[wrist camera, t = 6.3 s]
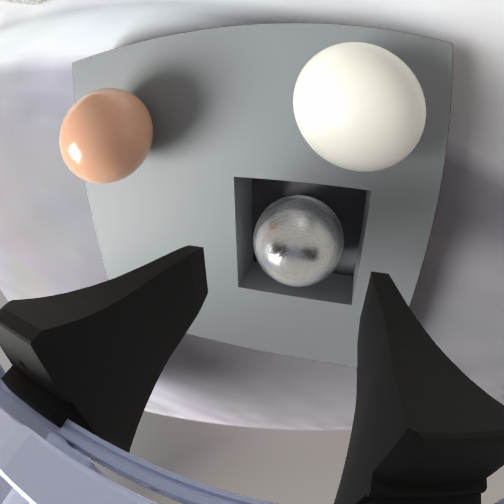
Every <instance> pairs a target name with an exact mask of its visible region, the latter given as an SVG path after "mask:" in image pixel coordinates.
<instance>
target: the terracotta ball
mask: <svg viewBox="0 0 504 504" xmlns="http://www.w3.org/2000/svg"><path fill="white" fill-rule="evenodd" d="M152 141H153V122H152V118H151V116H150V113H149V111H148V109H147V107H146V106H145V104H144V103H143V102H142V101H141V100H140V99H139V98H138V97H136V96H135V95H134V94H132V93H130V92H128V91H125V90H122V89H117V88H104V89H99V90H95V91H92V92H90V93H88V94H86V95H85V96H83V97H82V98H80V99H79V100H78V101H77V102H76V103H75V104H74V105H73V106H72V107H71V108H70V110H69V111H68V113H67V114H66V116H65V118H64V120H63V123H62V125H61V129H60V137H59V144H60V151H61V154H62V157H63V159H64V162H65V163H66V165H67V166H68V168H69V169H70V170H71V171H72V172H73V173H74V174H75V175H77V176H78V177H79V178H81V179H83V180H85V181H88V182H91V183H96V184H109V183H113V182H117V181H120V180H122V179H124V178H126V177H128V176H129V175H131V174H132V173H133V172H135V171H136V170H137V169H138V168H139V167H140V166H141V164H142V163H143V162H144V160H145V159H146V157H147V155H148V153H149V151H150V148H151V145H152Z"/></svg>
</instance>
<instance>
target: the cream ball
mask: <svg viewBox="0 0 504 504" xmlns="http://www.w3.org/2000/svg"><path fill="white" fill-rule="evenodd" d="M293 110H294V115H295V119H296V122H297V125H298V127H299V130H300V132H301V134H302V135H303V137H304V139H305V140H306V142H307V143H308V144H309V145H310V147H311V148H312V149H313V150H314V151H315V152H316V153H317V154H319V155H320V156H321V157H322V158H324V159H325V160H327V161H329V162H330V163H332V164H334V165H336V166H338V167H341V168H344V169H347V170H352V171H359V172H371V171H378V170H382V169H385V168H389V167H391V166H393V165H395V164H397V163H398V162H400V161H401V160H403V159H404V158H405V157H406V156H408V155H409V154H410V153H411V151H412V150H413V149H414V148H415V146H416V145H417V143H418V142H419V140H420V138H421V135H422V133H423V130H424V126H425V120H426V104H425V98H424V94H423V91H422V88H421V86H420V83H419V82H418V80H417V78H416V76H415V75H414V73H413V72H412V71H411V69H410V68H409V67H408V66H407V65H406V64H405V63H404V62H403V61H402V60H401V59H400V58H398V57H397V56H396V55H394V54H393V53H391V52H390V51H388V50H386V49H384V48H381V47H379V46H376V45H373V44H369V43H363V42H345V43H340V44H336V45H333V46H330V47H328V48H326V49H324V50H322V51H320V52H319V53H317V54H316V55H315V56H313V57H312V58H311V59H310V60H309V61H308V62H307V64H306V65H305V66H304V68H303V69H302V71H301V72H300V74H299V76H298V79H297V81H296V84H295V88H294V94H293Z"/></svg>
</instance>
